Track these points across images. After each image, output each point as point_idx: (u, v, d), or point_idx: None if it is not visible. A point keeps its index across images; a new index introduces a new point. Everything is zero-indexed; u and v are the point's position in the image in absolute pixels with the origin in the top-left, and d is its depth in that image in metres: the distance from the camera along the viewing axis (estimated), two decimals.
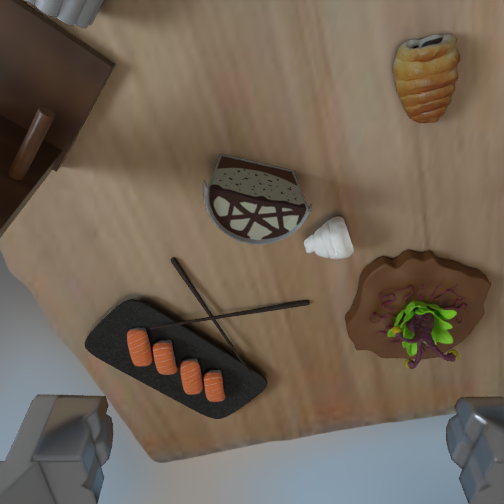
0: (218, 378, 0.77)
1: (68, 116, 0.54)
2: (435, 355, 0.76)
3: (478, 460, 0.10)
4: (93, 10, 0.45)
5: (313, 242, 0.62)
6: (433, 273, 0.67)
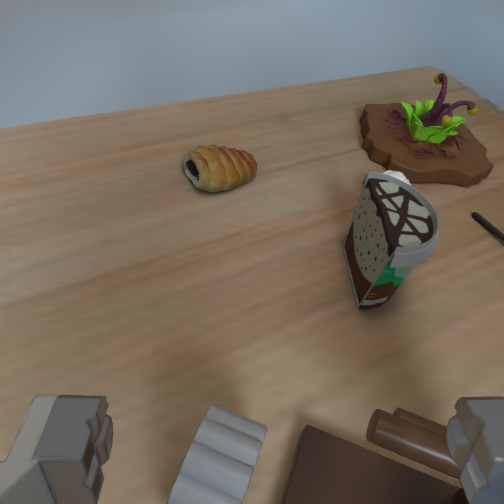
0: None
1: (398, 483, 0.36)
2: None
3: (478, 460, 0.10)
4: None
5: None
6: (379, 132, 0.72)
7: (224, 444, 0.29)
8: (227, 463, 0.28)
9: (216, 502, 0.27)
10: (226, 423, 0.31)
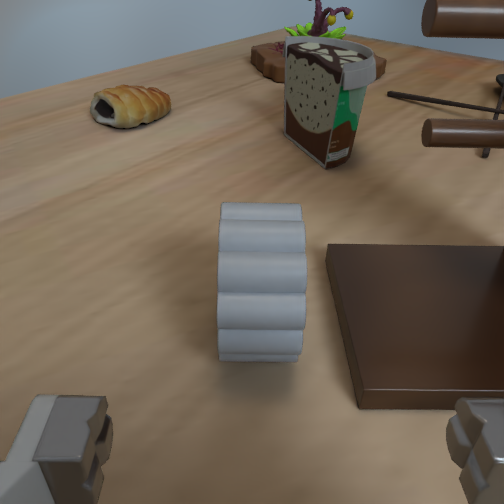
0: None
1: (446, 258, 0.32)
2: None
3: (478, 460, 0.10)
4: None
5: None
6: (274, 58, 0.72)
7: (258, 211, 0.23)
8: (271, 221, 0.23)
9: (276, 259, 0.22)
10: None
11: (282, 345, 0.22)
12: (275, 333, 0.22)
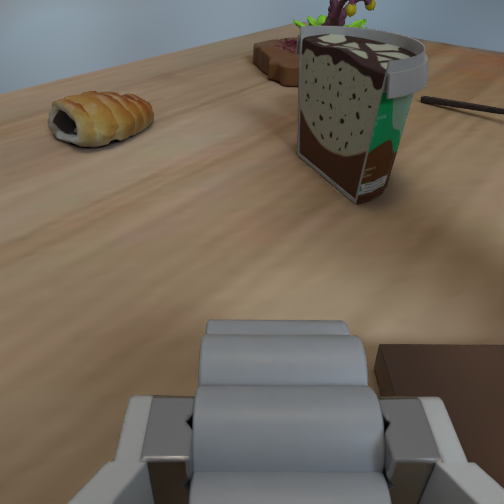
0: None
1: None
2: None
3: None
4: None
5: None
6: (282, 56, 0.60)
7: (277, 362, 0.11)
8: (306, 395, 0.10)
9: (323, 503, 0.09)
10: None
11: None
12: None
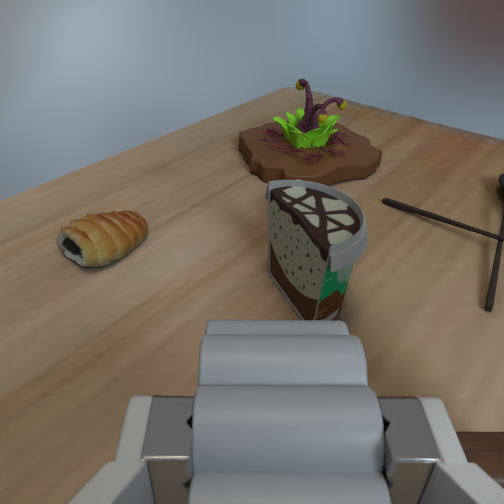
0: None
1: None
2: None
3: None
4: None
5: None
6: (262, 152, 0.68)
7: (277, 362, 0.11)
8: (306, 395, 0.10)
9: None
10: (258, 335, 0.13)
11: None
12: None
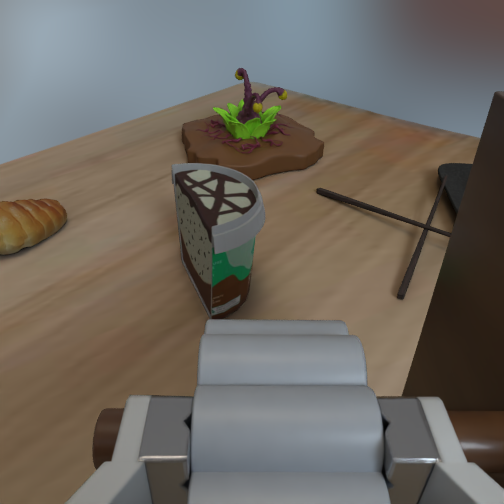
0: None
1: None
2: None
3: (383, 460, 0.10)
4: None
5: None
6: (201, 143, 0.67)
7: (276, 362, 0.11)
8: (305, 395, 0.10)
9: (322, 503, 0.09)
10: None
11: None
12: None
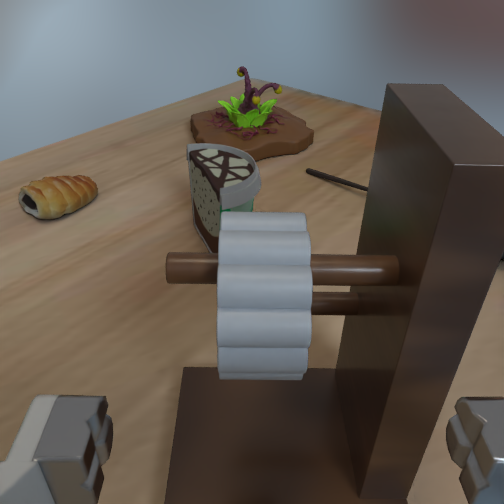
0: None
1: (281, 384, 0.37)
2: None
3: (478, 460, 0.10)
4: None
5: None
6: (207, 131, 0.77)
7: (260, 221, 0.22)
8: (274, 232, 0.21)
9: (280, 273, 0.20)
10: None
11: (286, 364, 0.21)
12: (279, 351, 0.21)
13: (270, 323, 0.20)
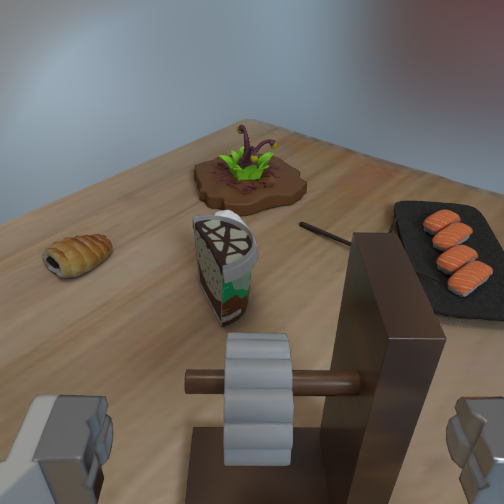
0: (427, 220, 0.75)
1: None
2: None
3: (478, 460, 0.10)
4: None
5: None
6: (210, 184, 0.85)
7: (255, 350, 0.30)
8: (265, 362, 0.29)
9: (269, 397, 0.28)
10: None
11: (274, 460, 0.29)
12: (269, 451, 0.29)
13: (262, 434, 0.28)
